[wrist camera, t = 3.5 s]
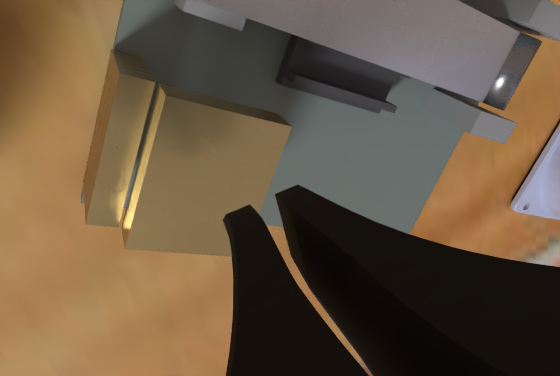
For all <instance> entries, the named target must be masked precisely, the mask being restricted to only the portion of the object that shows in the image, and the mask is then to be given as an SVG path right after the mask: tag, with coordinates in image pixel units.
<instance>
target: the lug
mask: <svg viewBox="0 0 560 376" xmlns="http://www.w3.org/2000/svg"><path fill="white" fill-rule="evenodd" d="M154 86H155V81H154V79H153V77H152V75H151V73H150V71H149V70H148V68H147V66H146V64H145V62H144V60H143V58H142V57H139V56H135V55H131V54H128V53H124V52H121V51H117V50H113V49H111V54H110V58H109V63H108V68H107V72H106V77H105V82H104V86H103V91H102V96H101V101H100V105H99V110H98V115H97V119H96V124H95V129H94V133H93V138H92V143H91V147H90V152H89V157H88V161H87V166H86V171H85V175H84V180H83V185H84V203H85V222H86V224H88V225H98V226H109V227H118V226H119V223H120V219H121V215H122V211H123V207H124V203H125V199H126V195H127V191H128V187H129V183H130V179H131V176H132V172H133V168H134V164H135V160H136V156H137V152H138V148H139V144H140V140H141V136H142V133H143V129H144V125H145V121H146V117H147V113H148V109H149V105H150V101H151V97H152V93H153V89H154ZM291 128H292V126H291V125H290V124H289V123H288V122H287V121H285V120H284V119H283V118H282V117H281V116H280V115H279V114H278V113H274V112H270V111H266V110H262V109H258V108H254V107H250V106H246V105H242V104H238V103H234V102H231V101H227V100H223V99H219V98H215V97H211V96H207V95H203V94H199V93H195V92H191V91H187V90H184V89H180V88H176V87H172V86H168V85H164V84H160V83H159V84H158V88H157V92H156V96H155V100H154V104H153V107H152V111H151V115H150V119H149V123H148V127H147V131H146V134H145V138H144V142H143V146H142V150H141V154H140V158H139V162H138V165H137V169H136V173H135V177H134V181H133V185H132V189H131V192H130V196H129V200H128V204H127V208H126V212H125V216H124V220H123V223H122V227H121V228H122V234H123V240H124V246H125V249H135V250H148V251H162V252H175V253H189V254H203V255H216V256H230V257H232V253H231V246H230V240H229V236H228V234H227V231H226V228H225V225H224V222H223V218H224V217H225V215H226V214H228V213H230V212H232V211H235V210H237V209H240V208H242V207H244V206H247V205H249V204H250V205H251V206H252V207H253V208H254V209H255V210H256V211H257V212H258V214H259V212H260V209H261V207H262V204H263V202H264V199H265V196H266V194H267V191H268V188H269V186H270V183H271V181H272V178H273V175H274V173H275V170H276V167H277V165H278V162H279V160H280V157H281V154H282V152H283V149H284V146H285V144H286V141H287V139H288V136H289V133H290V131H291Z"/></svg>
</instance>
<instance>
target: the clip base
mask: <svg viewBox="0 0 560 376" xmlns="http://www.w3.org/2000/svg"><path fill="white" fill-rule="evenodd" d="M458 1H460V2H462V3H464V4H466V5H468V6H470V7H472V8H474V9H476V10H478V11H480V12H482V13H484V14H486V15H488V16H489V17H491V18H493V19H495V20H497V21H499V22H501V23H503V24H505V25H507V26H509V27H511V28H513V29H515V30H517V31H520V32H524V33H528V34H532V35H537V36H541V37H545V38H549V39H553V40H557V41H560V7H559V6H558V5H556V4H554V3H552V2H551V1H549V0H458ZM113 50H117V51H121V52H124V53H128V54H131V55H135V56H139V57H142V58H143V60H144V62H145V64H146V66H147V68H148V70H149V71H150V73H151V75H152V77H153V79H154V81H155V86H154V89H153V93H152V97H151V101H150V105H149V109H148V113H147V117H146V121H145V125H144V129H143V133H142V136H141V140H140V144H139V148H138V152H137V156H136V160H135V164H134V168H133V172H132V176H131V179H130V183H129V187H128V191H127V195H126V199H125V203H124V207H123V208H127V204H128V200H129V196H130V192H131V189H132V185H133V181H134V177H135V173H136V169H137V165H138V162H139V158H140V154H141V150H142V146H143V142H144V138H145V134H146V131H147V127H148V123H149V119H150V115H151V111H152V107H153V104H154V100H155V96H156V92H157V88H158V84H159V83H160V84H164V85H168V86H172V87H176V88H180V89H184V90H187V91H191V92H195V93H199V94H203V95H207V96H211V97H215V98H219V99H223V100H227V101H231V102H234V103H238V104H242V105H246V106H250V107H254V108H258V109H262V110H266V111H270V112H274V113H278V114H279V115H280V116H281V117H282V118H283V119H284V120H285V121H287V122H288V123H289V124H290V125H291V126H292V128H291V131H290V133H289V136H288V139H287V141H286V144H285V146H284V149H283V152H282V154H281V157H280V160H279V162H278V165H277V167H276V170H275V173H274V175H273V178H272V181H271V183H270V186H269V188H268V191H267V194H266V196H265V199H264V202H263V204H262V207H261V209H260V212H259V215H260V216H261V217H262V219H263V220H264V222H265V224H266V225H274V226H282V227H283V223H282V220H281V216H280V212H279V208H278V205H277V201H276V197H275V194H276V193H278V192H281V191H283V190H285V189H288V188H290V187H293V186H295V185H297V184H298V185H300V186H302V187H304V188H306V189H308V190H310V191H312V192H314V193H316V194H318V195H320V196H322V197H324V198H326V199H328V200H330V201H332V202H334V203H336V204H338V205H340V206H342V207H344V208H347V209H349V210H351V211H353V212H355V213H357V214H360V215H362V216H364V217H366V218H369V219H371V220H373V221H376V222H378V223H380V224H383V225H386V226H388V227H391V228H394V229H396V230H399V231H402V232H404V233H407V234H410V232H411V230H412V228H413V226H414V224H415V222H416V220H417V219H418V217H419V215H420V213H421V211H422V209H423V207H424V205H425V203H426V202H427V200H428V198H429V196H430V194H431V192H432V190H433V188H434V186H435V185H436V183H437V181H438V179H439V177H440V175H441V173H442V171H443V169H444V168H445V166H446V164H447V162H448V160H449V158H450V156H451V154H452V152H453V151H454V149H455V147H456V145H457V143H458V141H459V139H460V137H461V135H462V134H463V132H464V131H466V132H468V133H470V134H473V135H477V136H480V137H483V138H487V139H490V140H493V141H497V142H500V143H503V144H506V142H507V140H508V139H509V137H510V135H511V133H512V132H513V130H514V128H515V126H516V125H517V123H515V122H513V121H511V120H509V119H506V118H504V117H502V116H500V115H497V114H495V113H493V112H491V111H489V110H486V109H484V108H482V107H480V106H477V105H478V103H479V101H477V100H474V99H471V98H469V97H466V96H463V95H460V94H458V93H455V92H452V91H449V90H446V89H444V88H441V87H438V86H435V85H432V84H430V83H427V82H424V81H421V80H418V79H416V78H413V77H410V76H407V75H404V74H402V73H399V72H396V71H393V70H391V69H388V68H385V67H382V66H379V65H377V64H374V63H371V62H368V61H365V60H363V59H360V58H357V57H354V56H351V55H349V54H346V53H343V52H340V51H338V50H335V49H332V48H329V47H326V46H324V45H321V44H318V43H315V42H312V41H310V40H307V39H304V38H301V37H298V36H296V35H293V34H290V33H287V32H285V31H282V30H279V29H276V28H273V27H271V26H268V25H265V24H262V23H259V22H257V21H254V20H251V19H248V18H245V17H243V16H240V15H237V14H234V13H232V12H229V11H226V10H223V9H220V8H218V7H215V6H212V5H209V4H206V3H204V2H201V1H198V0H123V5H122V9H121V14H120V19H119V23H118V28H117V32H116V37H115V42H114V46H113ZM81 203H84V186H83V191H82V195H81ZM84 204H85V203H84Z"/></svg>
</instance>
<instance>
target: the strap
mask: <svg viewBox="0 0 560 376" xmlns="http://www.w3.org/2000/svg"><path fill="white" fill-rule="evenodd" d="M198 1H201V2H204V3H206V4H209V5H212V6H215V7H218V8H220V9H223V10H226V11H229V12H232V13H234V14H237V15H240V16H243V17H245V18H248V19H251V20H254V21H257V22H259V23H262V24H265V25H268V26H271V27H273V28H276V29H279V30H282V31H285V32H287V33H290V34H293V35H296V36H298V37H301V38H304V39H307V40H310V41H312V42H315V43H318V44H321V45H324V46H326V47H329V48H332V49H335V50H338V51H340V52H343V53H346V54H349V55H351V56H354V57H357V58H360V59H363V60H365V61H368V62H371V63H374V64H377V65H379V66H382V67H385V68H388V69H391V70H393V71H396V72H399V73H402V74H404V75H407V76H410V77H413V78H416V79H418V80H421V81H424V82H427V83H430V84H432V85H435V86H438V87H441V88H444V89H446V90H449V91H452V92H455V93H458V94H460V95H463V96H466V97H469V98H471V99H474V100H477V101H480V102H483V103H485V104H488V105H490V106H493V107H495V108H498V109H501V110H505V108H506V106H507V104H508V103H509V101H510V99H511V97H512V95H513V94H514V92H515V90H516V88H517V86H518V85H519V83H520V81H521V79H522V77H523V76H524V74H525V72H526V70H527V68H528V67H529V65H530V63H531V61H532V59H533V58H534V56H535V54H536V52H537V50H538V49H539V47H540V45H541V43H542V41H540V40H538V39H536V38H534V37H532V36H529V35H526V34H524V33H521V32H519V31H517V30H515V29H513V28H511V27H509V26H507V25H505V24H503V23H501V22H499V21H497V20H495V19H493V18H491V17H489V16H488V15H486V14H484V13H482V12H480V11H478V10H476V9H474V8H472V7H470V6H468V5H466V4H464V3H462V2H460V1H458V0H198Z"/></svg>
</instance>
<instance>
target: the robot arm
mask: <svg viewBox="0 0 560 376" xmlns="http://www.w3.org/2000/svg"><path fill="white" fill-rule="evenodd" d="M275 197H276V201H277V205H278V208H279V212H280V216H281V220H282V223H283V227H284V231H285V235H286V239H287V242H288V246H289V250H290V254H291V257H292V258H293V260H294V262H295V264H296V266H297V267H298V269H299V271H300V273H301V275H302V276H303V278H304V280H305V282H306V283H307V285H308V287H309V288H310V290H311V291H312V293H313V294H314V295H315V297H316V298H317V299H318V301H319V302H320V304H321V305H322V306H323V308H324V309H325V310H326V312H327V313H328V314H329V316H330V317H331V318H332V320H333V321H334V322H335V324H336V325H337V326H338V328H339V329H340V330H341V332H342V333H343V334H344V336H345V337H346V338H347V340H348V341H349V342H350V344H351V345H352V346H353V348H354V349H355V350H356V352H357V353H358V354H359V356H360V357H361V359H362V360H363V361H364V363H365V364H366V366H367V367H368V369H369V370H370V372H371V373H372V375H373V376H560V267H554V266H547V265H540V264H533V263H526V262H520V261H515V260H509V259H503V258H498V257H493V256H489V255H484V254H479V253H475V252H470V251H466V250H462V249H458V248H454V247H450V246H446V245H443V244H439V243H436V242H433V241H429V240H426V239H422V238H419V237H416V236H413V235H410V234H407V233H404V232H402V231H399V230H396V229H394V228H391V227H388V226H386V225H383V224H380V223H378V222H376V221H373V220H371V219H369V218H366V217H364V216H362V215H360V214H357V213H355V212H353V211H351V210H349V209H347V208H344V207H342V206H340V205H338V204H336V203H334V202H332V201H330V200H328V199H326V198H324V197H322V196H320V195H318V194H316V193H314V192H312V191H310V190H308V189H306V188H304V187H302V186H300V185H298V184H297V185H295V186H293V187H290V188H288V189H285V190H283V191H281V192H278V193H276V194H275ZM511 209H513V210H514V211H516V212H519V213H524V214H529V215H535V216H540V217H545V218H551V219H556V220H560V124H559V125H558V127H557V129H556V130H555V132H554V133H553V135H552V137H551V138H550V140H549V142H548V143H547V145H546V147H545V148H544V150H543V152H542V153H541V155H540V156H539V158H538V160H537V161H536V163H535V165H534V166H533V168H532V170H531V171H530V173H529V175H528V176H527V178H526V180H525V181H524V183H523V184H522V186H521V188H520V189H519V191H518V193H517V194H516V196H515V198H514V199H513V201H512V203H511ZM223 222H224V225H225V228H226V231H227V234H228V236H229V240H230V246H231V253H232V265H233V322H232V334H231V343H230V352H229V359H228V365H227V372H226V376H369V375H368V374H367V373H366V372H365V370H364V369H363V368H362V367H361V366H360V364H359V363H358V362H357V361H356V360H355V358H354V357H353V356H352V355H351V354H350V352H349V351H348V350H347V349H346V348H345V346H344V345H343V344H342V343H341V342H340V340H339V339H338V338H337V337H336V335H335V334H334V333H333V331H332V330H331V329H330V328H329V326H328V325H327V324H326V322H325V321H324V320H323V319H322V317H321V316H320V315H319V313H318V312H317V311H316V309H315V308H314V307H313V305H312V304H311V303H310V301H309V300H308V299H307V297H306V296H305V294H304V293H303V292H302V290H301V289H300V288H299V286H298V285H297V283H296V281H295V280H294V278H293V276H292V275H291V273H290V271H289V269H288V267H287V265H286V263H285V261H284V259H283V257H282V255H281V253H280V252H279V250H278V248H277V246H276V244H275V242H274V240H273V238H272V236H271V234H270V232H269V230H268V228H267V226H266V224H265V222H264V220H263V219H262V217H261V216H260V215H259V214H258V212H257V211H256V210H255V209H254V208H253V207H252V206H251V205H250V204H249V205H247V206H244V207H242V208H240V209H237V210H235V211H232V212H230V213H228V214H226V215H225V217H224V218H223Z"/></svg>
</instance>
